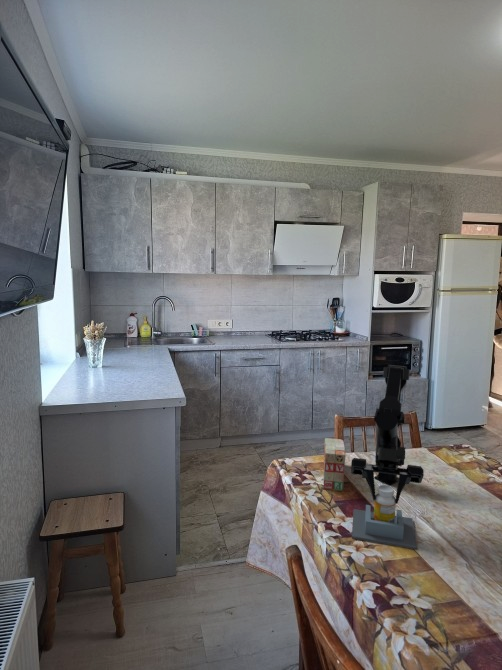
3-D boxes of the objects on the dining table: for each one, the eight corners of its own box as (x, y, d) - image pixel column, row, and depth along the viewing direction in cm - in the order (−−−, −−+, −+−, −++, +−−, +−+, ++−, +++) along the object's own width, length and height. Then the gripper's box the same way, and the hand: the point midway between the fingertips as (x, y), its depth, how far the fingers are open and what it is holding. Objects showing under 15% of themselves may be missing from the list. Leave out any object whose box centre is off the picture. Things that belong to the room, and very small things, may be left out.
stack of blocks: (323, 462, 160) (325, 429, 159) (340, 463, 159) (342, 431, 158) (323, 489, 139) (325, 452, 138) (343, 491, 138) (345, 454, 137)
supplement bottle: (373, 515, 121) (375, 482, 120) (393, 518, 120) (395, 485, 118) (373, 526, 116) (375, 491, 114) (394, 529, 114) (397, 494, 113)
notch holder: (353, 510, 126) (354, 497, 126) (412, 520, 122) (413, 506, 122) (351, 538, 113) (352, 523, 112) (417, 549, 109) (418, 534, 108)
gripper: (353, 430, 121) (349, 486, 112) (425, 438, 116) (427, 497, 107) (352, 446, 129) (349, 499, 120) (420, 454, 124) (421, 510, 115)
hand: (385, 501), depth 115 cm, fingers closed on supplement bottle, 5 cm apart
